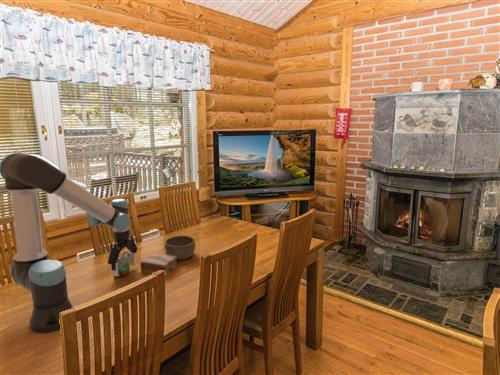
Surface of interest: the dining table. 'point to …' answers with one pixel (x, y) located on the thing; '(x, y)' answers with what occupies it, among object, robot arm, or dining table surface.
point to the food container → (123, 264)
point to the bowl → (180, 247)
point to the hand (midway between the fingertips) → (124, 270)
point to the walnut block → (158, 263)
